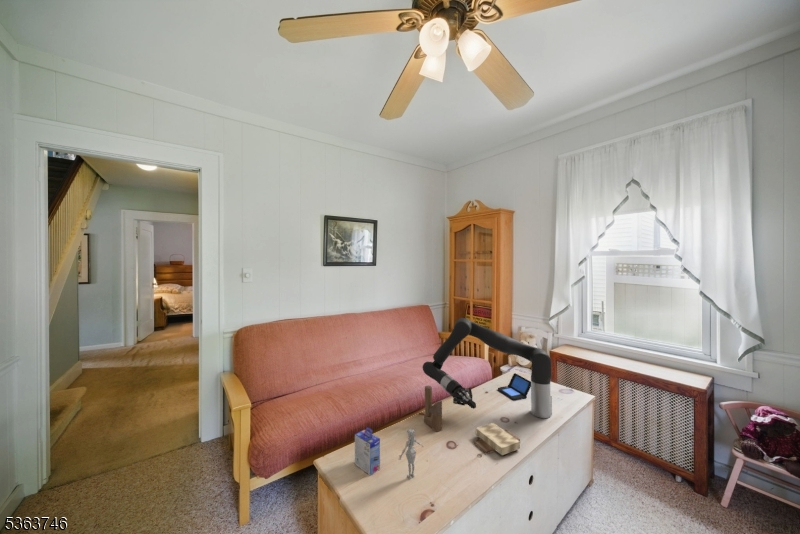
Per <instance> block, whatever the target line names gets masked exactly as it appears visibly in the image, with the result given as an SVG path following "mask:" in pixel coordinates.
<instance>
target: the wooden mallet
mask: <svg viewBox="0 0 800 534" xmlns="http://www.w3.org/2000/svg"><path fill="white" fill-rule="evenodd" d="M423 422H424V423H425V424H426V425H427V426H429V427H430V428H432V430H434V431H435V432H440V431H443V401H442V400H440V401H435V403H434V404H433V388H432V386H431V385H426V386H424V414H423Z"/></svg>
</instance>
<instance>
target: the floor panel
mask: <svg viewBox="0 0 800 534" xmlns="http://www.w3.org/2000/svg"><path fill="white" fill-rule="evenodd" d="M503 430H504V431H506V432H507V433H509V434H510V435H511V436H513V437H514V438H516V439H517V440H519V441H520V442H521V439H520V438H519V437H517V436H516V435H514V434H513V433H512V432H510V431H509V430H507V429H503ZM473 443H474V445H476V447H478V448H479V449H480V450H481V451H482V452H484V453H485V455H487V454H490V453H493V452H495V451H496V450H495V449H493V448H492V447H491V446H490V445H488V444H487V443H486V442H485V441H484V440H482V439H481V438H479V439H475V440H474V441H473ZM496 452H497V451H496Z"/></svg>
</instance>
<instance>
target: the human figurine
mask: <svg viewBox="0 0 800 534" xmlns="http://www.w3.org/2000/svg"><path fill="white" fill-rule="evenodd" d="M406 433H407V437H408V440H407V441H405V442H406V443H405V447H404V448H403V449H402V452H401V454H400V455H399V458H398V461H401V460H402V457H403V455H404V454H405V455H406V456H405V458H406V460H407V463H408V464H407V466H408V474H406V478H408V479H409V480H410V479H412V478H413V477H415V473H414V472H415V471H414V470H415V462H416V461H415V460H416V454H417V450H416V449H415V447H414V446H415V443H416V444H417V445H420V446H421V447H424V445H423V444H421V443H420V441H418V440H417V439H416V431H415V429H410V428H409V429H407V431H406Z"/></svg>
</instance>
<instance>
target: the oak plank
mask: <svg viewBox="0 0 800 534" xmlns="http://www.w3.org/2000/svg"><path fill="white" fill-rule="evenodd" d="M504 430H505V429H502V428H501V427H500V426H499V425H497V424H496V423H494V422H491V423H488V424H485V425H482V426H478V427H476V428H475V431H476V432H475V436H476V437H479V439H482V440H484V441H485V442H486V443H487V444H488V445H490V446H491V447H492V448H493V449H495V450H496V452H497V453H498V454H499V455H501V456H504V455H507V454H510V453H512V452H515V451H517V450H520V449H521V440H520V441H519V440H517V439H516V438H514V437H513V436H511V435H510V434H509V433H507V432H506V431H504Z"/></svg>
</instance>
